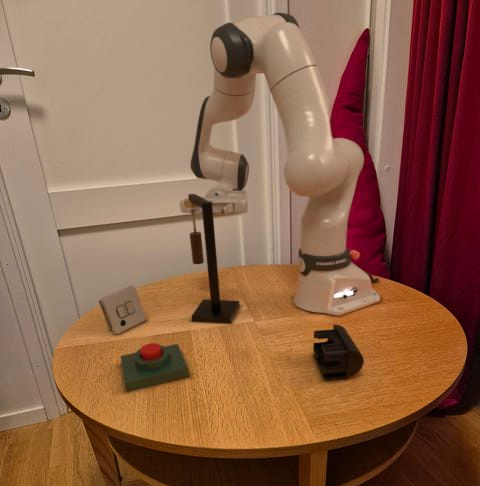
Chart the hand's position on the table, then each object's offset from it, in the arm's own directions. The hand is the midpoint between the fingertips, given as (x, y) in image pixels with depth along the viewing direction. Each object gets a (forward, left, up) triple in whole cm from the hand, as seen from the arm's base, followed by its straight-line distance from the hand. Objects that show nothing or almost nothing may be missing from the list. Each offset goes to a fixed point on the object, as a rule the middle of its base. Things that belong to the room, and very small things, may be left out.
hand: (207, 210), depth 115 cm
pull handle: (+6, +10, -11) cm, 16 cm away
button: (+24, +42, -17) cm, 52 cm away
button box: (+24, +42, -21) cm, 53 cm away
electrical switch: (+28, +19, -21) cm, 40 cm away
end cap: (-10, +55, -21) cm, 60 cm away
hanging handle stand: (+5, +19, -21) cm, 29 cm away
